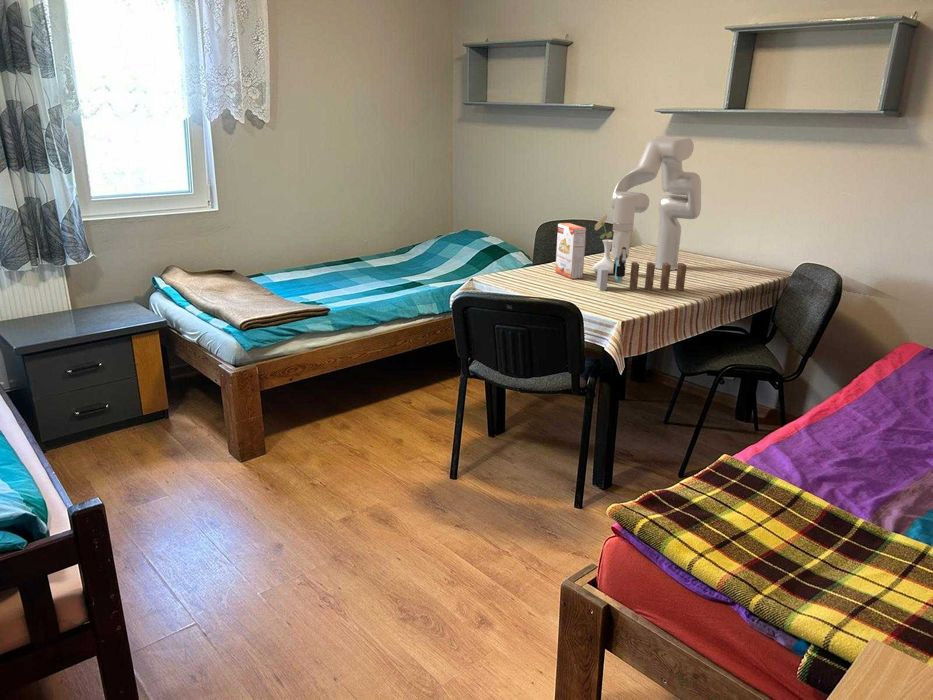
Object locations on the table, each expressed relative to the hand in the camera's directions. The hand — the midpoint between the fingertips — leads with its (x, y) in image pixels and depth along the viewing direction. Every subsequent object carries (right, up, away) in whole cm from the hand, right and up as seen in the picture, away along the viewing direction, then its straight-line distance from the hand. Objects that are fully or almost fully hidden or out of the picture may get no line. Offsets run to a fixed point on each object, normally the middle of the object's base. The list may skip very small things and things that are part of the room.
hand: (618, 274), depth 275 cm
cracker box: (-16, +2, +23) cm, 28 cm away
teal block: (0, -2, +1) cm, 2 cm away
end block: (-6, -5, +2) cm, 8 cm away
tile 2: (+18, -6, +2) cm, 19 cm away
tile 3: (+12, -5, +2) cm, 13 cm away
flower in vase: (0, +3, +28) cm, 29 cm away
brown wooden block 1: (+6, -5, +2) cm, 8 cm away
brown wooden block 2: (+24, -6, +2) cm, 25 cm away
